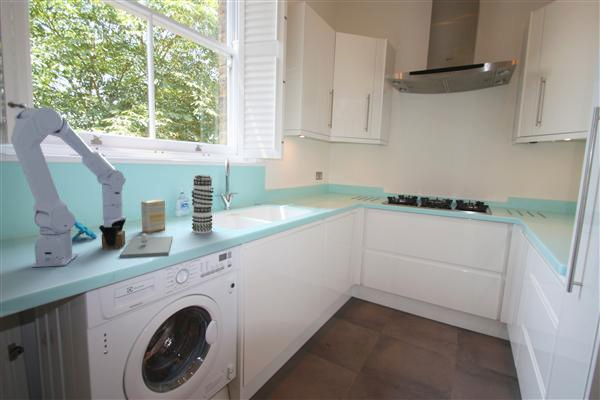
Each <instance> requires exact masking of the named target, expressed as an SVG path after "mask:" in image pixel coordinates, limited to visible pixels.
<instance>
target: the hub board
mask: <svg viewBox="0 0 600 400" xmlns="http://www.w3.org/2000/svg"><path fill="white" fill-rule="evenodd" d="M172 242H173V236H169V235H168V236H153V237H152V236H148V234H146V233H142V234H141V237H132V238H131V239H130V240H129V242H128V243H127V245H126V246H125V247H124V248H123V250H122V251H121V253H120V254H119V259H123V258H138V257H139V258H140V257H141V258H142V257H157V256H159V257H160V256H161V257H162V256H169V254H170V250H171V245H172Z"/></svg>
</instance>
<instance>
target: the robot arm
mask: <svg viewBox="0 0 600 400" xmlns="http://www.w3.org/2000/svg"><path fill="white" fill-rule="evenodd" d="M14 121H15V122H14V126H13V129H12V134H11V135H10V136H11V137H10V142H11V144H12V147H13V149H14V153H15V154H16V157H17V159H18V162H19V164H20V166H21V168H22V171H23V172H22V173H24V177H25V179H26V181H27V184H28V186H29V189H30V191H31V193H32V196H33V199H34V201H35V203H34V205H33V208H32V209H33V210H34V217H33V222H34V223H35V225H36V226H37V227H39V230H38V233H39V238H38V239H37V240H36V242H35V244H34V256H35V258H34V259H35V263H33V264H32V265H31V267H32V268H41V267H55V266H56V267H57V266H67V265H68V264H69V263H70V262H72V261H73V260H74V259H75V258H77V256H78V255H79V254H78V253H73V241H72V238H73V237H72V229H73V228H74V227H75V225H74V224H75V220H76V216H75V215H74V213H72V212H71V211H70V210H69V208H68V206H67V204H66V203H65V202H64V201H63V200H62V199H61V198H60V196H59V194H58V190H57V188H56V185H55V182H54V180H53V176H52V173H51V171H50V168H49V165H48V163H47V161H46V158H45V154H44V152H43V150H42V147H41V143H43V141H44V140H45V139H46V138H47V137H48V136H49V135H50V136H52V137H56V138H60V139H61V140H62V141H63V142H64V143H65V144H67V145H68V146H69V147H70V148H71V149H72V150H74V151H75V153H77V154H78V155H79V156H80V157H81V158H82V160H81V163H82V164H83V165H84V166H85V167H86V168H87V169H88V170H89V171H90V172H91V173H92V174H93V175H95V176H96V180H97V182H98V183H99V184H101V196H102V199H101V200H102V221H103V225H102V224H101V225H99V227H98V228H99V231H100V232H101V234H103V235H104V238H105V241H106V244H107V246H114V245H115V242H116V235H117V231H123V228H124V225H125V224H126V219H127V215H126V216H124V214H123V189H124V188H123V187H124V185H125V183H126V180H127V179H126V177H125V176H124V174H123V172H122V171H120V170H116V169H115V167H116V166H114V165H113V164H111V163H110V162H109V161H108V160H107V159H106V158H105V157H106V156H105V154H104V153H101V152H99V151H93V150H92V149H91V148H90V146H88V144H87V143H86V142H85V141H84V140H83V139H82V138H81V137H80V135H79V134H78V133H77V132H76V131H75V129H74V128H72V126H71V125H70V122H69V121H68V120H67V118H65V117H63V116H62V114H61V113H60V112H59V111H58V110H56V109H55V108H53V107H49V106H42V107H26V108H24V109H21V110H20V112H18V113H17V114H16V115H15V116H14Z"/></svg>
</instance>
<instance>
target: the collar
mask: <svg viewBox="0 0 600 400" xmlns="http://www.w3.org/2000/svg"><path fill="white" fill-rule="evenodd" d="M125 245H126V230H122V231H117V235H116V242H115V245H114V246H107V244H106V241H105V238H104V235H103V233H101V249H102V250H108V249H109V250H111V249H124V246H125Z"/></svg>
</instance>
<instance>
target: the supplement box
mask: <svg viewBox="0 0 600 400" xmlns="http://www.w3.org/2000/svg"><path fill="white" fill-rule="evenodd" d="M140 204H141V205H140V206H141V207H140V209H141V231H142V232H144V233H154V232H158V231H159V232H160V231H163V230H166V200H163V199H151V200H141V202H140Z"/></svg>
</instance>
